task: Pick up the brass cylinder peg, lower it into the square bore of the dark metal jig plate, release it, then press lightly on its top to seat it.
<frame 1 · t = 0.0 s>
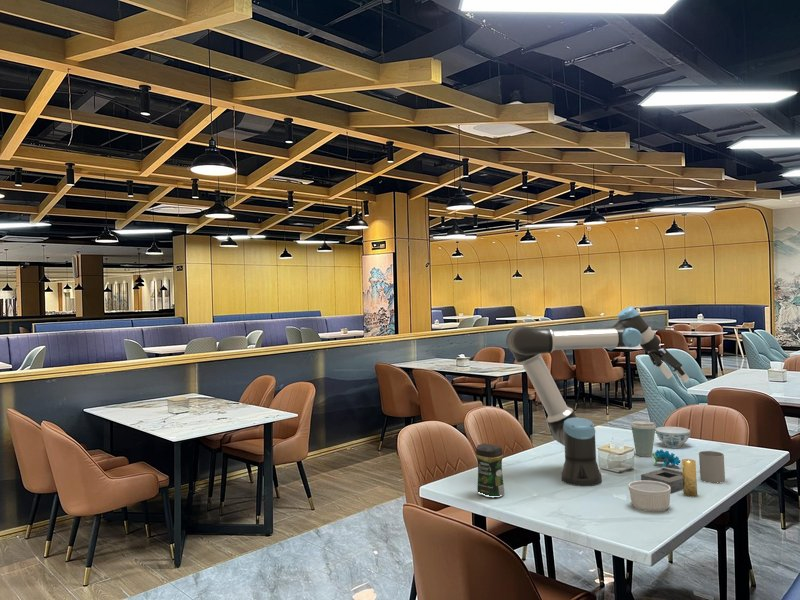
hand: (678, 379, 243), 36 cm above the table, tool tilted 35°, fingers open, 13 cm apart
cup: (712, 480, 221), on the table
gear: (666, 467, 241), on the table
disposable coffee cup: (644, 455, 261), on the table
jig: (667, 485, 216), on the table
coffee jar: (491, 495, 214), on the table
brass cylinder peg: (690, 494, 205), on the table
ramekin: (650, 507, 195), on the table
chinaware: (673, 446, 275), on the table
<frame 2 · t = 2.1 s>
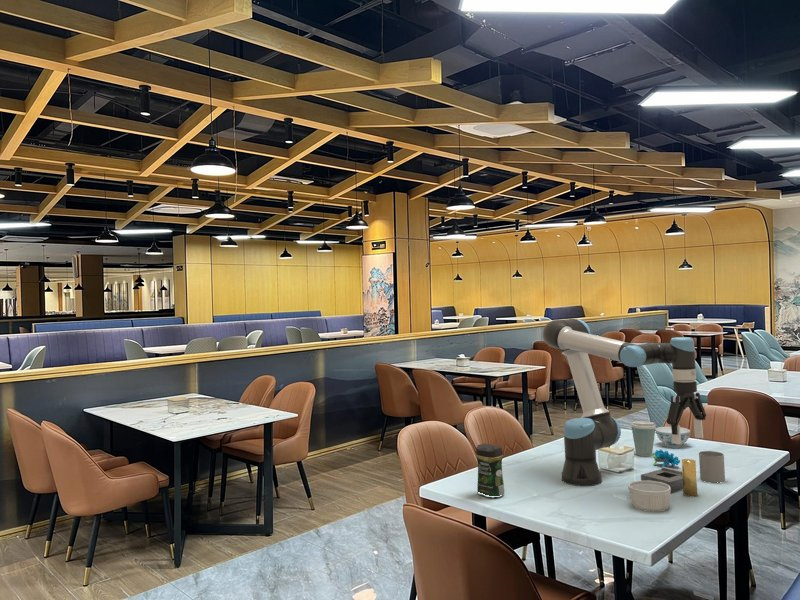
hand: (688, 440, 206), 19 cm above the table, tool pointing down, fingers open, 13 cm apart
nothing on the table moved.
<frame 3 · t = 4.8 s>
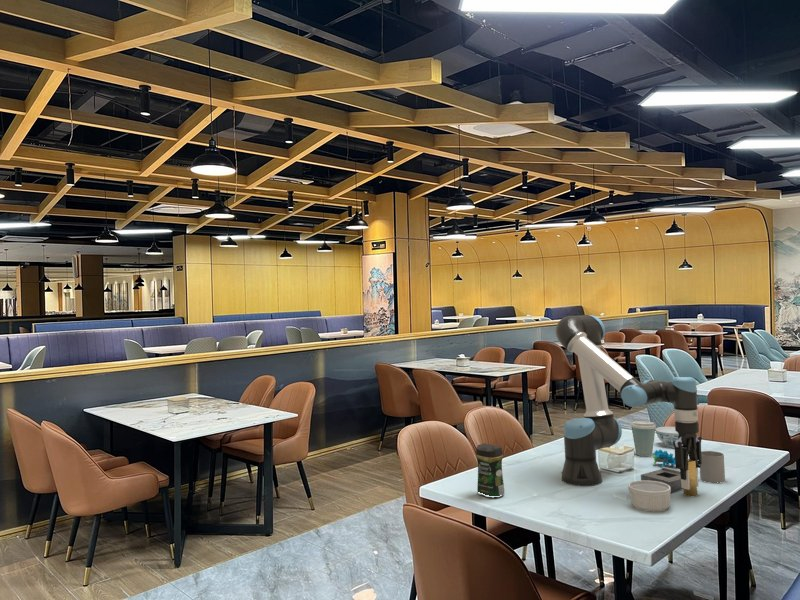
hand: (689, 486, 205), 3 cm above the table, tool pointing down, fingers closed on brass cylinder peg, 4 cm apart
brass cylinder peg: (690, 494, 205), on the table, touching gripper
everything else where it was.
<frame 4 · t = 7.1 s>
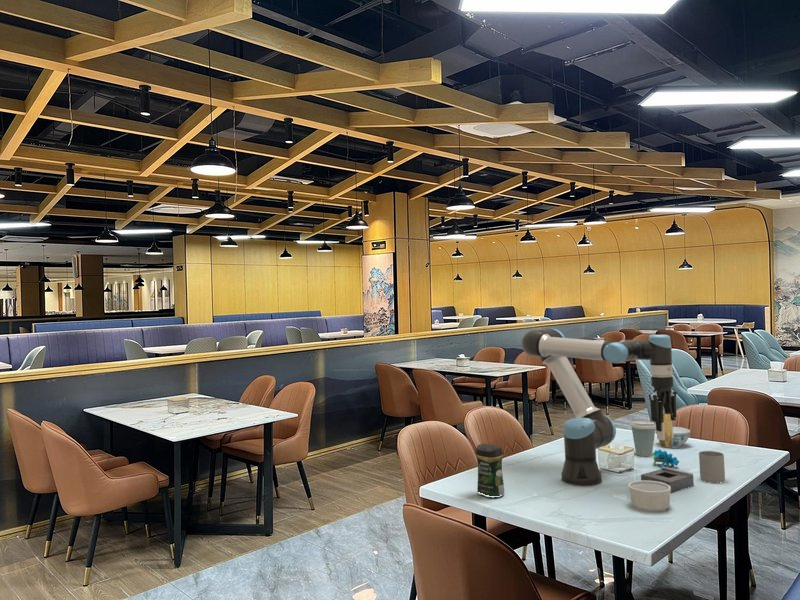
hand: (665, 438, 216), 18 cm above the table, tool pointing down, fingers closed on brass cylinder peg, 4 cm apart
brass cylinder peg: (665, 445, 216), point 15 cm above the table, touching gripper
everything else where it was.
when the fingers open (5 cm above the table, at t = 9.3 s): brass cylinder peg drops 2 cm, resting in jig.
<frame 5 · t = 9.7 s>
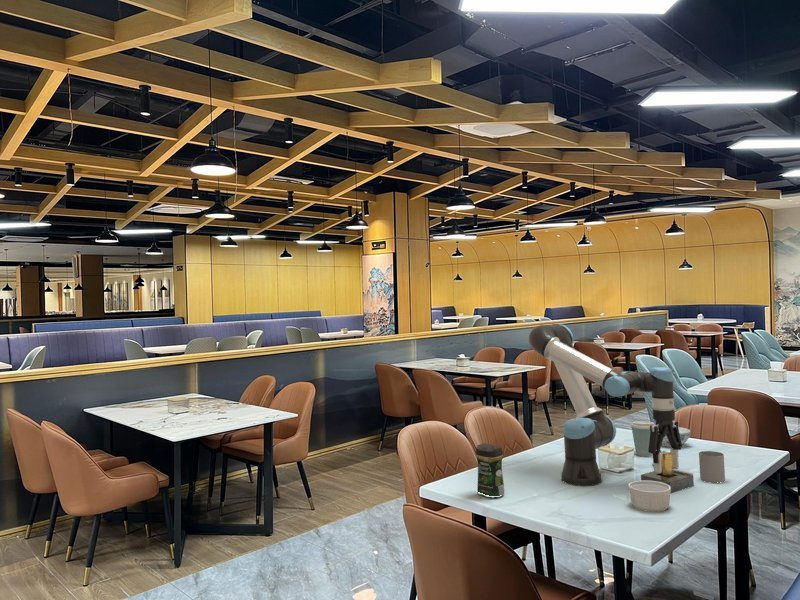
hand: (666, 469, 216), 6 cm above the table, tool pointing down, fingers open, 9 cm apart
brass cylinder peg: (667, 485, 216), resting in jig
everything else where it was.
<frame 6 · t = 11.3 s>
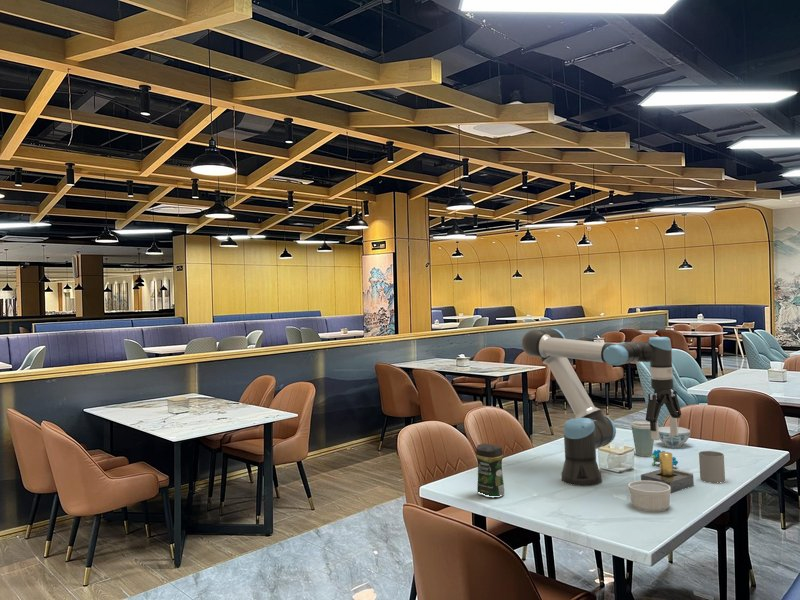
hand: (664, 437, 216), 18 cm above the table, tool pointing down, fingers open, 11 cm apart
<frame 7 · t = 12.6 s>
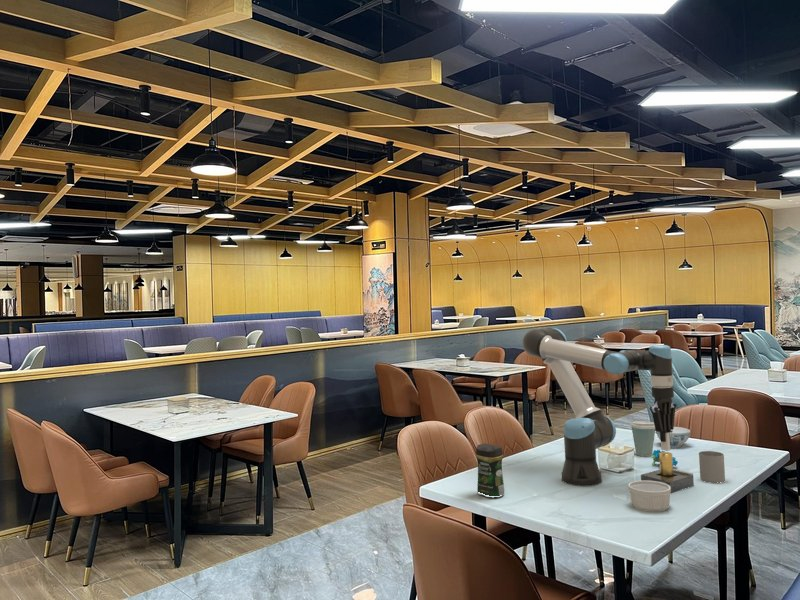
hand: (665, 449, 216), 13 cm above the table, tool pointing down, fingers closed
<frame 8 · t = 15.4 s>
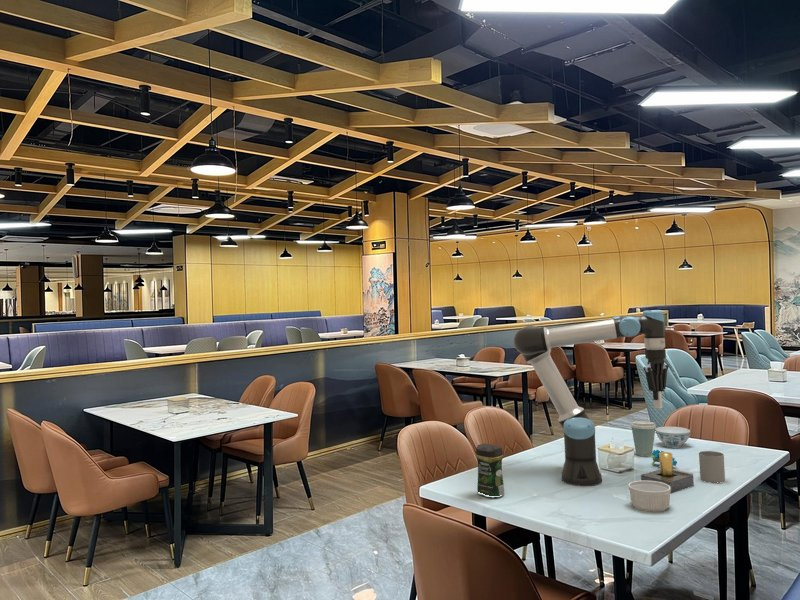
hand: (658, 407, 231), 26 cm above the table, tool pointing down, fingers closed
at the end: brass cylinder peg 0.0 cm off-centre on the jig, point 0.0 cm above the jig's base; brass cylinder peg tilted 0°; the gripper is holding nothing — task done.
